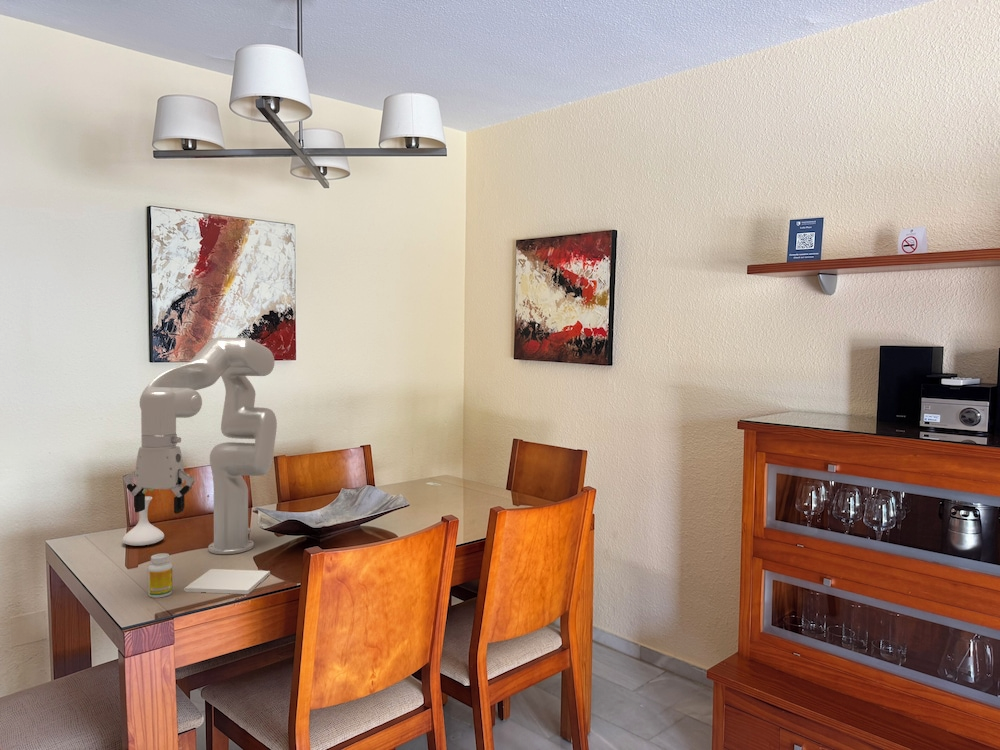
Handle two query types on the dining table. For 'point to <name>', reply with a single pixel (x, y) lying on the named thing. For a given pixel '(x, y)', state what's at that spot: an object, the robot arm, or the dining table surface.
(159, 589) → the supplement bottle
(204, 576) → the mat
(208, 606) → the dining table surface
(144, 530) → the flower in vase
